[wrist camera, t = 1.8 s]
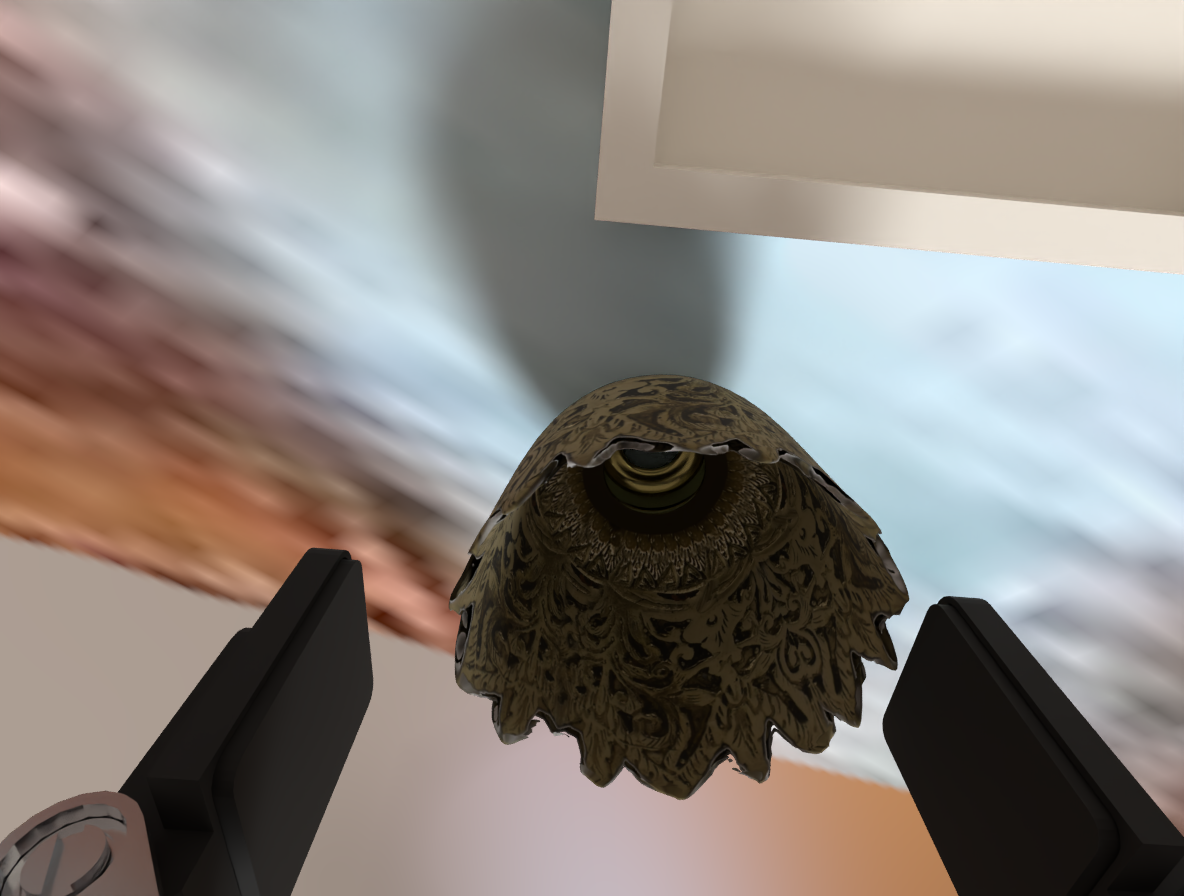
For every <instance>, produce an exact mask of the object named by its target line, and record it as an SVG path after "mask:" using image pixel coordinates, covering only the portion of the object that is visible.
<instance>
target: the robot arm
mask: <svg viewBox="0 0 1184 896" xmlns="http://www.w3.org/2000/svg"><path fill="white" fill-rule="evenodd" d="M369 643H370V642H369V632H368V623H367V613H366V603H365V593H364V583H363V573H362V565H361V562H360V561H358V560H352V559H351V555H350V553H349V551H347V550H336V549H323V548H311V549H309V550H308V551H307V552H306V553H305V554H304V556H303V557H302V559H301V560H300V561H299V563H298V564H297V566H296V567H295V568H294V570H293V571H292V573H291V574H290V575H289V577H288V578H287V580H286V581H285V582H284V584H283V585H282V587H281V588H280V589H279V591H278V592H277V594H276V595H275V596H274V598H273V599H272V601H271V602H270V603H269V605H268V606H267V608H266V609H265V610H264V612H263V613H262V615H261V616H260V617H259V619H258V620H257V622H256V623H255V624H254V626H253V627H252V628H244V629H242V630H240V631H238V632H237V633H236V634H235V636H233V638H232V639H231V640H230V641H229V642H228V644H227V645H226V647H225V648H224V649H223V651H222V652H221V653H220V655H219V656H218V657H217V659H216V660H215V662H214V663H213V664H212V665H211V667H210V668H209V670H208V671H207V672H206V674H205V675H204V676H203V678H202V679H201V680H200V682H199V683H198V684H197V686H196V687H195V689H194V690H193V691H192V693H191V694H190V695H189V697H188V698H187V699H186V701H185V702H184V703H183V705H182V706H181V707H180V709H179V710H178V712H177V713H176V714H175V715H174V717H173V718H172V720H171V721H170V722H169V724H168V725H167V727H166V728H165V729H164V730H163V732H162V733H161V734H160V736H159V737H158V739H157V740H156V741H155V743H154V744H153V745H152V747H151V748H150V749H149V751H148V752H147V753H146V755H145V756H144V757H143V759H142V760H141V761H140V763H139V764H138V766H137V767H136V769H135V770H134V771H133V772H132V774H131V775H130V776H129V778H128V779H127V780H126V782H125V783H124V784H123V786H122V787H121V789H120V790H119V791H118V793H116V792H109V791H101V792H93V793H86V794H81V795H78V796H75V797H72V798H70V799H66V800H63V801H60V802H58V803H56V804H54V805H52V806H50V807H49V808H47V809H45V810H43V811H41V812H39V813H37V814H36V815H34V816H32V817H31V818H30V819H28V820H27V821H26V822H24V823H23V824H22V825H20V826H19V827H18V828H16V829H15V830H14V831H12V832H11V833H10V834H9V835H8V836H7V837H6V838H5V839H4V840H3V841H2V842H1V843H0V896H291V893H292V891H293V888H294V886H295V883H296V881H297V878H298V876H299V874H300V871H301V868H302V866H303V864H304V861H305V859H306V857H307V854H308V852H309V849H310V847H311V844H312V842H313V840H314V837H315V834H316V832H317V830H318V827H319V825H320V822H321V820H322V818H323V815H324V813H325V810H326V808H327V805H328V803H329V801H330V798H331V796H332V793H333V791H334V788H335V786H336V784H337V781H338V779H339V776H340V774H341V771H342V769H343V766H344V764H345V761H346V759H347V757H348V754H349V752H350V749H351V747H352V744H353V742H354V740H355V737H356V735H357V732H358V730H359V728H360V725H361V723H362V720H363V717H364V715H365V713H366V710H367V708H368V705H369V703H370V700H371V696H372V690H373V672H372V663H371V653H370V644H369ZM883 733H884V737H885V740H886V743H887V745H888V747H889V749H890V751H891V753H892V755H893V757H894V760H895V762H896V764H897V766H898V768H899V770H900V772H901V774H902V777H903V779H904V781H905V783H906V785H907V787H908V789H909V791H910V794H911V795H912V798H913V799H914V802H915V804H916V806H917V808H918V811H919V813H920V815H921V817H922V819H923V821H924V823H925V825H926V827H927V830H928V832H929V834H930V836H931V838H932V840H933V842H934V844H935V847H936V848H937V851H938V853H939V855H940V857H941V859H942V861H943V864H944V866H945V868H946V870H947V872H948V874H949V876H950V878H951V881H952V883H953V885H954V887H955V889H956V891H957V893H958V895H959V896H1184V837H1183V836H1182V835H1181V833H1180V832H1179V831H1178V830H1177V829H1176V827H1175V826H1174V825H1173V824H1172V823H1171V821H1170V820H1169V819H1168V818H1167V817H1166V815H1165V814H1164V813H1163V812H1162V811H1161V809H1160V808H1159V807H1158V806H1157V805H1156V803H1155V802H1154V801H1153V800H1152V799H1151V797H1150V796H1149V795H1148V794H1147V793H1146V791H1145V790H1144V789H1143V788H1142V787H1141V785H1140V784H1139V783H1138V782H1137V781H1136V779H1135V778H1134V777H1133V776H1132V774H1131V773H1130V772H1129V771H1128V770H1127V768H1126V767H1125V766H1124V765H1123V764H1122V762H1121V761H1120V760H1119V759H1118V758H1117V756H1116V755H1115V754H1114V753H1113V752H1112V750H1111V749H1110V748H1109V747H1108V746H1107V744H1106V743H1105V742H1104V741H1103V740H1102V738H1101V737H1100V736H1099V735H1098V734H1097V732H1096V731H1095V730H1094V729H1093V728H1092V726H1091V725H1090V724H1089V723H1088V722H1087V720H1086V719H1085V718H1084V717H1083V716H1082V714H1081V713H1080V712H1079V711H1078V710H1077V708H1076V707H1075V706H1074V705H1073V704H1072V702H1071V701H1070V700H1069V699H1068V698H1067V696H1066V695H1065V694H1064V693H1063V692H1062V690H1061V689H1060V688H1059V687H1058V686H1057V684H1056V683H1055V682H1054V681H1053V680H1052V678H1051V677H1050V676H1049V675H1048V674H1047V672H1046V671H1045V670H1044V669H1043V668H1042V666H1041V665H1040V664H1039V663H1038V661H1037V660H1036V659H1035V658H1034V657H1033V655H1032V654H1031V653H1030V652H1029V651H1028V649H1027V648H1026V647H1025V646H1024V645H1023V643H1022V642H1021V641H1020V640H1019V639H1018V637H1017V636H1016V635H1015V634H1014V633H1013V631H1012V630H1011V629H1010V628H1009V627H1008V625H1007V624H1006V623H1005V622H1004V621H1003V619H1002V618H1001V617H1000V616H999V615H998V613H997V612H996V611H995V610H994V609H993V607H992V606H991V605H990V604H989V603H988V602H987V601H985V600H983V599H979V598H966V597H953V596H946V597H943V598H942V599H940V600H939V602H938V604H934V605H932V606H930V607H929V609H928V611H927V613H926V616H925V618H924V620H923V623H922V625H921V628H920V630H919V632H918V635H917V637H916V640H915V642H914V644H913V647H912V649H911V652H910V654H909V656H908V659H907V661H906V664H905V666H904V668H903V671H902V673H901V676H900V678H899V680H898V683H897V685H896V688H895V690H894V692H893V695H892V697H891V700H890V702H889V705H888V707H887V709H886V712H885V714H884V717H883Z"/></svg>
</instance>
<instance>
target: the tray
mask: <svg viewBox="0 0 1184 896" xmlns="http://www.w3.org/2000/svg"><path fill="white" fill-rule="evenodd" d="M594 220H601V221H612V222H623V223H634V224H644V225H655V226H666V227H677V228H688V229H698V230H709V231H720V232H731V233H741V234H752V235H763V236H774V237H784V238H795V239H806V240H817V241H827V242H838V243H849V244H860V245H871V246H881V247H892V248H903V249H914V250H924V251H935V252H946V253H957V254H967V255H978V256H989V257H1000V258H1011V259H1021V260H1032V261H1043V262H1054V263H1064V264H1075V265H1086V266H1097V267H1107V268H1118V269H1129V270H1140V271H1150V272H1161V273H1172V274H1183V275H1184V0H612V5H611V17H610V30H609V42H608V55H607V67H606V80H605V92H604V104H603V117H602V129H601V142H600V154H599V167H598V179H597V191H596V204H595V216H594Z"/></svg>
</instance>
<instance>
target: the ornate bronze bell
mask: <svg viewBox="0 0 1184 896" xmlns="http://www.w3.org/2000/svg"><path fill="white" fill-rule="evenodd" d="M623 449H636V450H641V451H642V452H649V453H655V452H669V451H679V452H678V454H677V456H676V457H675V458H674V459H673V460H672V461H671V462H670V463H668V464H667V465H665V466H662V467H659V468H653V469H648V468H642V467H639V466H637V465H635V464H633V463H632V462H630V461H629V460H628V458H627V457H626V456H625V454H624V452H623ZM878 534H882V532H881V530H880V528H879V527H878V525H877V524H876V522H875V521H874V520H873V519H872V518H871V517H870V516H869V515H868V514H867V513H866V512H865V511H864V510H863V509H862V508H861V507H860V506H859V505H858V504H857V503H856V502H855V501H854V500H853V499H852V498H851V497H849V496H848V495H847V494H846V493H845V492H844V491H843V490H842V489H841V488H840V487H839V486H838V485H837V484H836V483H835V482H834V481H833V480H832V479H831V478H830V477H829V475H828V474H827V473H826V472H825V471H824V470H823V469H822V468H821V467H820V466H819V465H818V464H817V463H816V462H815V461H814V460H813V458H812V457H811V456H810V455H809V454H808V453H807V452H806V451H805V450H804V449H803V448H802V447H801V446H800V445H799V444H798V443H797V442H796V441H795V440H794V439H793V438H792V437H791V436H790V435H789V434H788V433H787V432H786V431H785V430H784V429H783V428H782V427H781V426H780V425H779V424H777V423H776V422H775V421H774V420H773V419H772V418H771V417H769V416H768V415H767V414H766V413H765V412H763V411H762V410H761V409H759V408H758V407H757V406H755V405H754V404H752V403H751V402H749V401H748V400H746V399H745V398H743V397H741V396H739V395H737V394H735V393H734V392H732V391H730V390H728V389H725V388H723V387H721V386H718V385H715V384H713V383H710V382H708V381H704V380H700V379H696V378H692V377H685V376H678V375H646V376H639V377H633V378H627V379H624V380H620V381H617V382H614V383H611V384H608V385H606V386H603V387H601V388H598V389H596V390H594V391H593V392H591V393H589V394H587V395H585V396H583V397H582V398H581V399H579V400H578V401H576V402H575V403H573V404H572V405H571V406H569V407H568V408H567V409H565V410H564V411H563V412H562V413H561V414H560V415H559V416H558V417H556V418H555V419H554V420H553V421H552V422H551V423H550V425H549V426H548V427H547V428H546V429H545V430H544V431H543V432H542V434H541V435H540V436H539V437H538V438H537V440H536V441H535V442H534V444H533V445H532V447H531V448H530V450H529V451H528V452H527V454H526V455H525V457H524V458H523V460H522V461H521V463H520V465H519V466H518V468H517V469H516V471H515V473H514V474H513V476H512V478H511V480H510V481H509V483H508V485H507V486H506V488H505V490H504V492H503V493H502V495H501V497H500V499H499V500H498V502H497V504H496V506H495V508H494V509H493V511H492V513H491V515H490V517H489V518H488V520H487V521H486V523H485V524H484V526H483V527H482V529H481V530H480V532H479V534H478V535H477V537H476V539H475V541H474V543H473V544H472V546H471V548H470V550H469V552H468V555H469V554H472V555H471V557H470V559H469V561H468V563H467V565H466V568H465V570H464V572H463V573H462V576H461V577H460V579H459V581H458V583H457V584H456V586H455V588H454V590H453V592H452V594H451V597H450V601H449V609H450V611H451V610H454V611H455V612H456V613H458V615H461V621H460V626H459V631H458V635H457V640H456V648H455V678H456V683H457V684H458V686H459V687H460V688H461V689H462V690H464V691H465V692H466V693H468V694H470V695H474V696H478V697H484V698H488V699H489V700H492V701H493V704H492V721H493V724H494V727H495V730H496V732H497V734H498V736H499V738H500V740H501V742H503V743H504V744H507V745H509V744H513V743H516V742H518V741H520V740H523V739H526V738H528V737H526V736H527V735H529V734H530V733H532V729H531V728H532V727H534V726H536V723H537V722H540V721H539V720H532V719H533V717H534V716H537V717H539V718H541V719H543V720H544V721H545V722H546V724H547V726H548V727H549V729H550V731H551V733H553V734H554V736H558V735H564V734H563V733H559V732H567V733H568V734H570V735H572V736H574V737H575V738H576V739H577V742H578V745H579V749H580V754H581V763H580V770H581V773H582V774H583V775H585V776H586V777H587V778H588V779H589V780H591V781H592V782H593V783H594V784H595V785H597V786H599V787H603V788H604V787H606V786H607V785H609V784H610V783H612V782H613V781H614V780H615V778H616V777H617V776H618V775H619V773H620V772H621V771H622V769H623V768H624V767H626V769H627V770H628V771H630V772H631V773H632V774H633V775H634V776H635V778H636V779H637V780H638V781H639V782H640V783H642V784H643V785H645V786H647V787H649V788H651V789H653V790H655V791H657V792H660V793H663V794H666V795H669V796H672V797H674V798H676V799H678V800H684V799H687V798H689V797H690V796H691V795H693V794H694V793H695V792H696V791H697V790H698V789H699V788H700V787H701V786H702V785H703V784H704V783H705V782H706V780H707V779H708V778H709V777H710V776H711V775H712V774H713V772H714V770H715V768H716V767H717V766H718V765H719V764H721V763H722V762H723V761H725V760H726V759H728V758H729V757H728V756H727V755H729V754H731V755H732V756H733V757H734V758H735V760H736V763H737V764H738V765H739V767H740V770H741V771H742V773H740V774H743V775H746V776H748V777H749V778H751V779H754V780H756V781H757V782H758V783H762V782H764V781H766V780H767V779H768V778H769V776H770V766H771V765H770V764H771V763H770V762H771V756H772V751H771V745H772V740H773V737H772V735H773V734H774V732H777V733H778V734H780V735H781V736H782V737H783V739H785V740H786V741H787V742H789V743H790V744H791V745H792V746H794V747H795V748H798V749H800V750H801V751H802V752H806V753H812V754H819V753H822V752H823V751H824V750H825V749H826V748H827V747H828V746H829V742H830V740H831V739H832V737H833V736H834V734H835V732H836V727H835V723H834V716H836V717H837V718H838V719H839V720H842V721H844V722H846V723H847V724H849V725H850V726H853V727H857V728H858V727H859V726H860V723H861V717H862V684H863V682H864V680H865V678H866V672H865V668H864V665H863V663H862V661H861V657H863V658H865V659H866V660H868V661H874V662H876V663H877V664H881V665H883V666H885V667H887V668H889V669H891V670H897V665H898V662H897V657H896V652H895V649H894V646H893V643H892V640H891V637H890V635H889V633H888V630H887V628H886V624H885V622H886V620H887V619H888V618H889V619H890V618H891V616H893V615H900V613H901V611H902V609H903V607H904V606H905V604H906V603H907V602H908V601H909V595H908V591H907V588H906V585H905V583H904V580H903V578H902V576H901V574H900V572H899V570H898V568H897V566H896V564H895V563H894V561H893V559H892V557H891V555H890V552H889V550H888V548H887V547H886V545H885V544H884V542H883V541H882V539H881V538H880V536H879V535H878ZM773 725H775V726H776V727H777V729H778V730H777V729H776V728H773V730H772V732H771V727H772V726H773ZM567 736H568V735H567ZM568 737H569V736H568ZM728 760H729V762H732V761H733V760H732V759H728ZM623 766H624V767H623ZM732 769H733V770H735V771H738V772H740V770H738V769H737V768H732Z"/></svg>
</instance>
